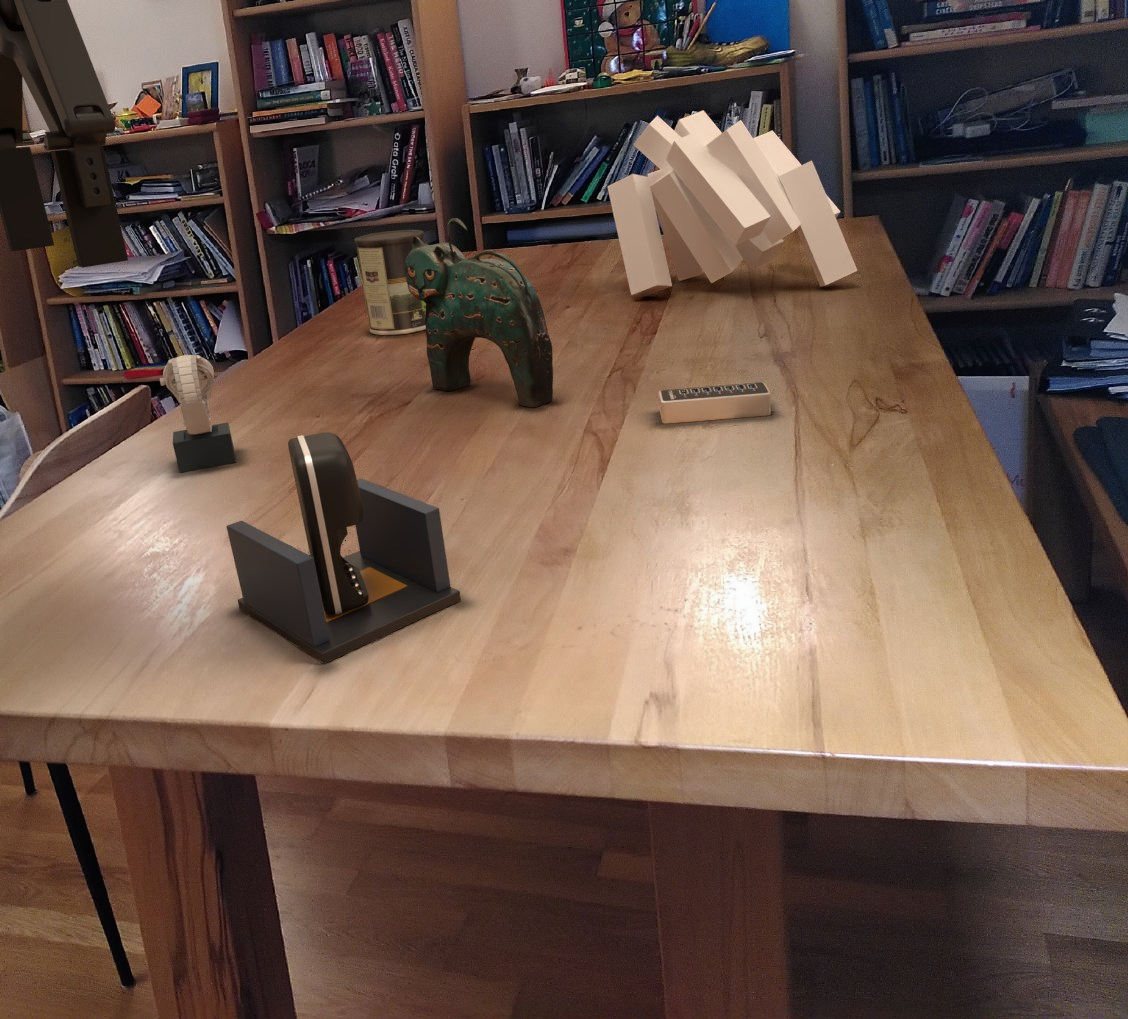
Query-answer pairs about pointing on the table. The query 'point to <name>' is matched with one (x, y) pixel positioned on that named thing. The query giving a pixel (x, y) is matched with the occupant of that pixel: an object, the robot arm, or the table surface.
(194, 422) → the watch
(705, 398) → the multiport hub
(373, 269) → the coffee can
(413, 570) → the cradle
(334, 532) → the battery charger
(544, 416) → the table surface
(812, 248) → the pile of blocks
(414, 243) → the ceramic cat
